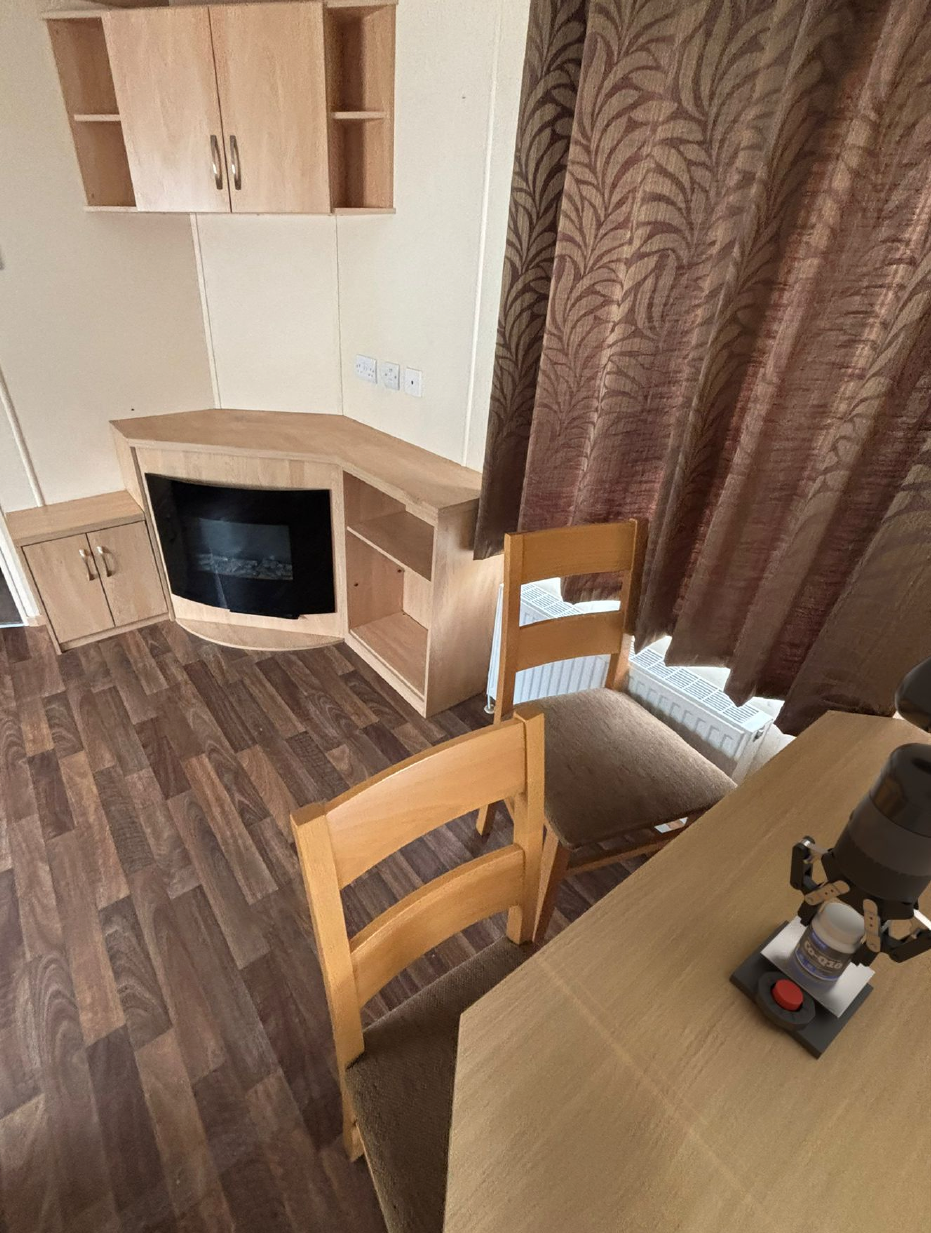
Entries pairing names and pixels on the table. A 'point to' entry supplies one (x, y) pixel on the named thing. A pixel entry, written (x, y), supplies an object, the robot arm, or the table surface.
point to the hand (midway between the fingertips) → (831, 939)
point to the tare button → (787, 995)
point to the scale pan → (824, 992)
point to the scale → (809, 1019)
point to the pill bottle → (830, 941)
